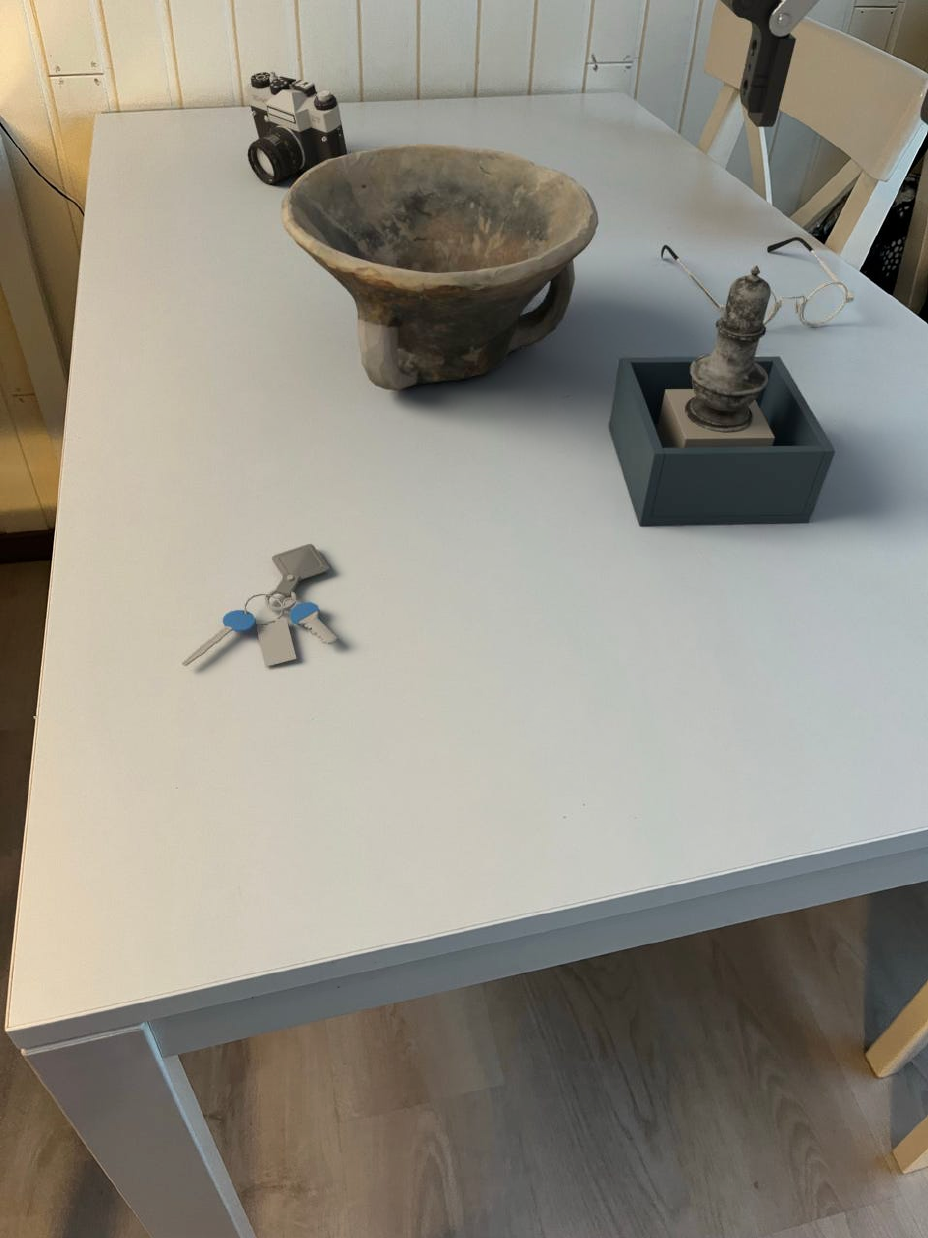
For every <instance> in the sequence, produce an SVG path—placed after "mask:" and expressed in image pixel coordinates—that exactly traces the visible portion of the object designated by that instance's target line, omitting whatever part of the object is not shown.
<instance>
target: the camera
mask: <svg viewBox="0 0 928 1238" xmlns="http://www.w3.org/2000/svg"><path fill="white" fill-rule="evenodd" d="M245 92H246V95H247V98H248V102H249V106H250V110H251V116H252V118H253V121H254V125H255V129H256V131H257V136H258V139H256V140H255V141H253V142H251V144H250V145H249V147H248V149H247V159H248V163H249V165H250V169H251V170H252V171H253V173H254V174H255V176H256V177H257V178H258V179H259V180H260V181H261V182H263V184H267V185H272V184H276V183H277V182H279V181H282V180H283V179H284V177H286V176H288V175H291V174H294V173H295V172H297V171H299V172H303V173H305V172H307V171H308V170H310V169H311V168H313V167H315V166H317V165H318V164H320V163H322V162H324V161H325V160H328V159H333V158H338V157H341V156H345V155H348V154H349V153H348V149H347V145H346V138H345V132H344V129H343V124H342V123H343V122H342V118H341V112H340V105H339V103H338V101H337V97H336V96H335V95H334V94H332V93H331V91H329V90H326V89H325V90H321V91H319V92H318V91H317V90H316V86H315V82H312V83H311V82H309V81H308V82H307V81H305V80H304V79H302V78H299V79H298V80H297V79H295V78H289V77H286V76H281V75H280V76H278V75H276V71H270V72H266V71H264V72H263V71H262V72H258V73H255V74H253V75H251V76H250V83H248V84H247V85H246V86H245Z"/></svg>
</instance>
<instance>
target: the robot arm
mask: <svg viewBox="0 0 928 1238" xmlns="http://www.w3.org/2000/svg"><path fill="white" fill-rule="evenodd" d="M720 2H721V3H723V5H725V7H726V8H727V9H729V10H730V11H731V12H732V13H733V14H734V15H735V16H736V17H737V18H739V19H744V20H746V21H748V22H750V24H751V35H750V40H749V43H748V44H749V45H748V49H747V54H746V58H745V63H744V68H743V72H742V78H741V82H740V87H739V92H738V93H739V98H740V103H741V105H742V106H743V107H744V109H746V111H747V117H748V118H749V120H750V121H751V122H752V123H753V124H754V126H755V127H756V128H773V127H774V126H775V124H776V122H777V117H778V115H779V110H780V106H781V103H782V98H783V94H784V91H785V86H786V82H787V78H788V73H789V70H790V66H791V61H792V57H793V54H794V50H795V45H796V41H797V38H796V37H795V36H794V35H793V34H792V33H791V32H793V30H794V29H795V28H796V27H797V26H798V25H799V24H800V23H801V22H802V20H803V19H805V17H806V16H807V15H808V14H809V13H810V11H812V10H813V8H814V7H815V6H816V5H817V4H818V3H819V2H820V0H720ZM919 116H920V117H919V118H920V120H921V121H922V122H923V123H925V124H926V125H927V126H928V88H927V90H926V92H925V95H924V98H923V101H922V104H921V107H920V113H919Z"/></svg>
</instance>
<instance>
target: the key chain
mask: <svg viewBox="0 0 928 1238" xmlns="http://www.w3.org/2000/svg"><path fill="white" fill-rule="evenodd" d="M271 560H272V562H273V564H274V565H275V567H276V568H277V570H278V571H279V572H280V574H281V576H282V578H281V581H280V582H279V584H278V585H277V586H276V588H275V589H272V590H270V591H269V592H268V593H259V594H258V593H257V594H254V595H252V596H250V597H249V598H248V599H247V600H246V601H245V603H244V605H243V609H236V610H231V611H228V612H227V613H225V615H224V616H223V617H222V624H223V625H224V627H223V628H222V629H220V630H218V632H216V633H215V634H214V635H213V636H212V637H211V638H210V639H208V640H206V641H205V642H204V643H202V645H200V646H199V648H198V649H195V651H194V652H192V654H191V655H189V656H188V657H187V658H186V659H184V660H183V661H182V662H181V664H182V666H185V667H187V666H188V665H190V664H192V663H193V662H194V661H195V660H197V659H198V658H199V657H202V656H203V655H204V654H206V653H207V651H208V650H210V649H211V648H212V647H213V646H214V645H216V644H218V643H219V642H220V641H222V639H223V638H225V637H226V636H227V635H229V633H231V632H232V631H234V632H238V633H243V632H247V631H249V630H251V629H252V628H254V626H255V625H256V624H258V625H257V626H256V632H257V637H258V640H259V646H260V650H261V654H262V659H263V662H264V667H265V668H268V667H272V666H275V665H278V664H282V663H286V662H290V661H293V660H297V655H296V652H295V647H294V643H293V639H292V635H291V632H290V628H289V624H288V620H287V619H286V618H283V617H282V616H283V615H284V613H285V612H288V613H289V618H290V621H291V623H292V624H295V625H296V626H299V625H303V626H304V628H305V629H309V630H310V632H311V635H312V636H315V635H316V637H317V639H320V638H321V639H322V640H321V642H322V643H323V644H326V645H330V644H334V643H335V642H336V641H337V640H338V637H337V635H335V634H334V633H333V631H331V629H329V628H328V627H327V626H326V625H325V624H324V623H323V622H322V621H321V620H320V619H319V614H320V613H321V609H320V608H319V605H317V604H316V603H314V602H311V601H309V602H308V601H303V602H300V603H299V601H298V596H297V594H296V593H295V592H294V591H295V589H296V587H297V585H298V584H299V583H300V581H302V580H305V579H308V578H311V577H314V576H317V575H320V574H323V573H326V572H328V571H329V570H330V567H329V564H328V563H327V562H326V561H325V559H324V558H323V556H322V555H321V554H320V552H319V551H318V549H317V548H316V546H315V545H314V544H312V543H307V544H305V545H301V546H297V547H295V548H292V549H289V550H287V551H282V552H280V553H277V554H274V555H273V556H272V557H271ZM275 595H282V596H287V598H285V599H284V600H283V602H282V601H281V600H280V599H279V598H278V597H276V596H275ZM260 596H264V600H263V602H264V606H265V607H266V608H267V609H268V610H269V611H272V612H275V613H280V614H279V616H278V617H276V618H275V619H271V620H267V621H258V620H256V617H255V615H254V614H253V613H252V612H250V611H248V610H247V605H248V604H249V601H251V600H253V599H254V598H257V597H260ZM271 598H273V599H275V600H276V601H277V602H278V603H279V604H280V606H274V605H272V604H270V603H271V602H270V599H271ZM289 600H291V601H290V603H289V604H287V605H286V602H288V601H289Z"/></svg>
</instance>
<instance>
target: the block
mask: <svg viewBox="0 0 928 1238" xmlns="http://www.w3.org/2000/svg"><path fill="white" fill-rule="evenodd" d="M695 396H696V395H695V393H694V390H693V389H666V390H665V394H664V399H663V404H662V409H661V414H660V418H659V423H658V428H657V434H658V437H659V440H660V442H661V445H662V448H685V447H756V446H772V445H773V442H774V439H775V437H774V435H773V433H772V431H771V429H770V427H769V425H768V424H767V422H766V420H765V418H764V416H763V414H762V412H761V410H760V408H759V406H758V404H757V403H756V401H755V400H754V401H753V402H752V403H751V404H750V405H749V406H748V407H749V408H750V410H751V412H752V413H753V420H752V422H751V424H750V425H749V426H748V427H747V428H745V429H743V430H741V431H736V432H716V431H711V430H708V429H705V428H702V427H700V426H698V425H696V424H695V423H693V422H692V421H691V420H690V419H689V418H688V417H687V415H686V413H685V405H686V404H687V402H688V401H689V400H690V399H691V398H693V397H695Z"/></svg>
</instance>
